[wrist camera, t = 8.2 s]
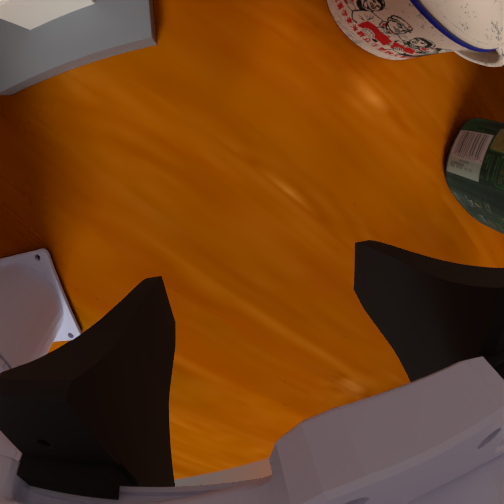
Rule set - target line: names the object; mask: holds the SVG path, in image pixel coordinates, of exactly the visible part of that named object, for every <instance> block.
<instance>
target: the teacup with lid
mask: <svg viewBox="0 0 504 504" xmlns="http://www.w3.org/2000/svg"><path fill="white" fill-rule="evenodd" d="M327 3H328V7H329V9H330V12H331V14H332V16H333V18H334V20H335V21H336V23H337V24H338V26H339V27H340V28H341V30H342V31H343V32H344V33H345V34H346V35H347V36H348V37H349V38H350V39H351V40H352V41H353V42H354V43H356V44H357V45H358V46H360V47H361V48H362V49H364V50H366V51H367V52H369V53H371V54H374V55H376V56H378V57H382V58H385V59H391V60H404V59H409V58H414V57H420V56H425V55H431V54H437V53H444V52H451V51H454V52H455V53H457V54H458V55H460V56H461V57H463V58H465V59H467V60H469V61H471V62H474V63H477V64H480V65H483V66H489V67H500V66H503V65H504V0H327ZM495 49H496V52H490V51H493V50H495Z"/></svg>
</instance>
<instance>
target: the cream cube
mask: <svg viewBox="0 0 504 504" xmlns="http://www.w3.org/2000/svg"><path fill="white" fill-rule="evenodd" d="M92 4H95V0H0V19H3V20H6V21H8V22H11V23H14V24H16V25H19V26H21V27H24V28H26V29H29V30H32V29H34V28H36V27H38V26H40V25H42V24H44V23H47V22H49V21H51V20H53V19H56V18H58V17H61V16H63V15H65V14H68V13H70V12H73V11H76V10H78V9H81V8H84V7H87V6H90V5H92Z"/></svg>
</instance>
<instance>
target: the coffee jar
mask: <svg viewBox="0 0 504 504" xmlns="http://www.w3.org/2000/svg"><path fill="white" fill-rule="evenodd" d="M445 177H446V182H447V185H448V187H449V189H450V191H451V192H452V193H453V195H454V196H455V198H456V199H457V200H458V202H459V203H460V204H461V205H462V206H463V207H464V209H465V210H466V211H467V212H468V213H469V214H470V215H471V216H472V217H474V218H475V219H476V220H477V221H479V222H480V223H482V224H484V225H486V226H488V227H490V228H492V229H494V230H496V231H498V232H500V233H502V234H504V123H501V122H497V121H492V120H486V119H480V118H473V119H470V120H468V121H467V122H466V123H465V124H464V125H463V126H462V128H461V129H460V130H459V132H458V133H457V135H456V136H455V138H454V140H453V142H452V144H451V146H450V149H449V153H448V157H447V161H446V168H445Z"/></svg>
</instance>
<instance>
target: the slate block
mask: <svg viewBox="0 0 504 504" xmlns="http://www.w3.org/2000/svg"><path fill="white" fill-rule="evenodd" d="M154 45H157V43H156V33H155V23H154V12H153V0H95V4H92V5H90V6H87V7H84V8H81V9H78V10H76V11H73V12H70V13H68V14H65V15H63V16H61V17H58V18H56V19H53V20H51V21H49V22H47V23H44V24H42V25H40V26H38V27H36V28H34V29H32V30H29V29H26V28H24V27H21V26H19V25H16V24H14V23H11V22H8V21H6V20H3V19H0V95H13V94H15V93H17V92H19V91H21V90H23V89H25V88H27V87H29V86H32V85H34V84H36V83H39V82H41V81H43V80H46V79H48V78H50V77H53V76H55V75H58V74H60V73H63V72H66V71H68V70H71V69H74V68H77V67H79V66H82V65H85V64H88V63H91V62H94V61H98V60H101V59H104V58H107V57H111V56H114V55H118V54H121V53H125V52H129V51H133V50H137V49H141V48H145V47H149V46H154Z"/></svg>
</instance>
